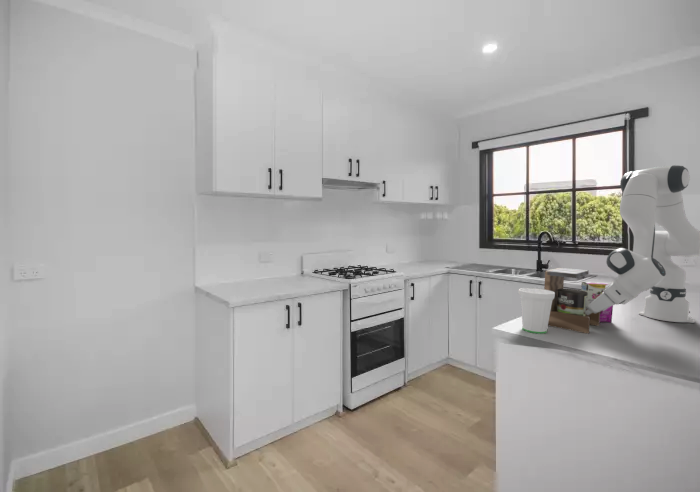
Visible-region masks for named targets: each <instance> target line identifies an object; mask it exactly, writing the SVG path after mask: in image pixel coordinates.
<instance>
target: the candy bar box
mask: <svg viewBox="0 0 700 492" xmlns="http://www.w3.org/2000/svg"><path fill="white" fill-rule="evenodd" d="M609 283H610V282H599V281H598V282H597V281H596V282H595V281H581V285H580V286H581V288H580V290H582V291H586V292H587V301H586V309H589V307H588V305H589V304H590V303H591V302H592V301H594V300H595V299H596V298H597V297H598V296H600V295H601V294H602V293H603V290H604V289H605V286H606V285H607V284H609ZM613 308H614V305H613V306H610V307H608V308H606V309H604V310H602V311H600V321H599V323H613V321H612V319H613Z"/></svg>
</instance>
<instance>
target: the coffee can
mask: <svg viewBox="0 0 700 492" xmlns="http://www.w3.org/2000/svg"><path fill="white" fill-rule="evenodd" d="M586 301H587V292H586V291H582V290H581V289H576V288H563V289H558V300H557V312H563V313H569V314H575V315H581V316H585V315H586V313H585V311H586Z"/></svg>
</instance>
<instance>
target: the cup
mask: <svg viewBox="0 0 700 492" xmlns="http://www.w3.org/2000/svg"><path fill="white" fill-rule="evenodd" d="M518 295H519V297H520V307H521V320H522V321H521V322H522V330H523V331H524V332H528V333H532V334H546V333H547V331H548V327H549V326H548V322H549V316H550V311H551V305H552V300H553V299H554V298H555V292H553V291H549V290H544V289H543V288H534V287H521V288H519V289H518Z"/></svg>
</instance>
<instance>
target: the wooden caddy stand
mask: <svg viewBox="0 0 700 492" xmlns="http://www.w3.org/2000/svg"><path fill="white" fill-rule="evenodd" d="M589 273H590V272H589V270H586V269H576V268H565V267H557V268H553V269H548V270H545V272H544V286H543V287H544V290H549V291H553V292H555V298H554V299H553V300H552V305H551V311H550V316H549V322H548V327H549V326H550V327H554V328H559V329H562V330H569V331H573V332H580V333H583V334H584V333H585V334H589V333H590V326H597V327H598V326H600V322H599V321H600V312H598V313H591V314H590V315H587V314H586V315H585V316H581V315H575V314H569V313H563V312H557V300H558V289H564V283H565V282H564V281H565V278H570V279H577V278H581V277H584V276H587V275H589ZM586 310H588V309H586Z"/></svg>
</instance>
